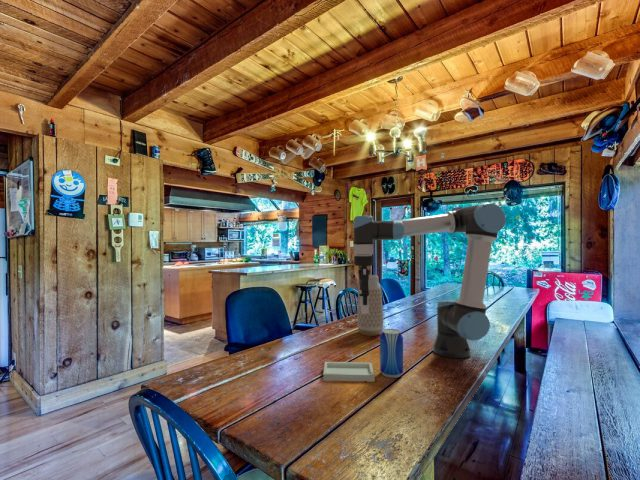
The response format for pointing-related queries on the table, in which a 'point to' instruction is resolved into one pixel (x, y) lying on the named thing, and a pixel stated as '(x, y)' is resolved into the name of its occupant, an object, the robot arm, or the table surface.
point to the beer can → (391, 353)
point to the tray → (348, 371)
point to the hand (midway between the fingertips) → (364, 309)
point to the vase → (371, 310)
